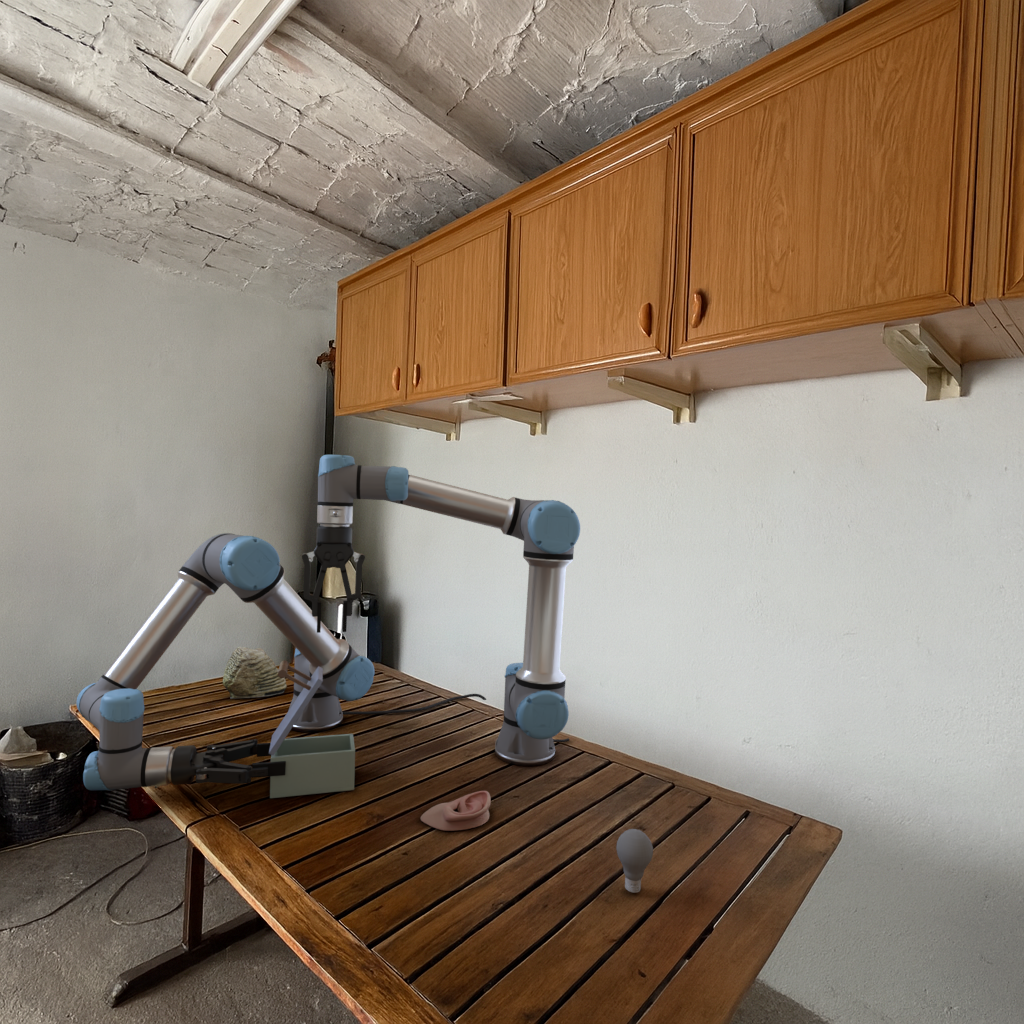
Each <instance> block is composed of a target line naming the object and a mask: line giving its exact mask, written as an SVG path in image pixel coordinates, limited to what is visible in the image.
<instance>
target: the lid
mask: <svg viewBox="0 0 1024 1024" xmlns="http://www.w3.org/2000/svg"><path fill="white" fill-rule="evenodd" d="M278 669H279V671H278V676H279V677H280V678H285V679H288V680H289V681H291V682H292V683H294V682H295V683H296V684H298V685H300V686H302V687H304V688H303V690H302V691H301V693H300V694H299V696H298V698H297V699H296V701H295V702H294V704H293V705H292V707H291V708H290V710H289V709H288V710H289V711H287V713H286V714H285V716H284V717H283V719H282V720H281V721H280V723H279V725H278V726H277V727H276V729H275V730H274V732H273V734H272V735H271V740H270V743H271V744H270V749H269V754H270V755H272V756H274V754H275V753H276V751H277V750H278V748H279V747H280V745H281V744H282V742H283V741H284V739H287V738H286V737H287V736H288V735H289V733H290V731H292V729H291V728H292V727H293V725H294V724H295V722H296V721H297V719H298V718H299V716H300V715H301V713H302V712H303V710H304V709H305V707H306V706H307V704H308V703H309V701H310V700H311V698H312V697H313V695H314V694H315V692H316V691H317V689H318V688H319V686H320V685H321V683H322V682H323V668H321V667H319V666H318V667H317V669H316V670H315V672H314V673H313V675H312V676H311V677H309V676H307V675H306V674H304V673H302V672H300V671H298V670H297V669H295V667H293V666H291V665H290V664H289V661H287V660H282V661H280V663H279V668H278ZM288 671H290V672H292V673H296V674H298V675H299V676H301V677H303V678H305V679H307V680H308V682H307V684H305V683H303V682H302V681H300V680H298V679H296V678H294V676H292V675H291V674H289V673H288Z"/></svg>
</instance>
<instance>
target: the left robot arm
mask: <svg viewBox="0 0 1024 1024" xmlns="http://www.w3.org/2000/svg"><path fill="white" fill-rule="evenodd" d="M285 574H286V570H285V568H284V567H283V565H282V564H281V557H280V555H279V553H278V551H277V549H276V548H275V547H274V546H273V545H272V544H271V543H270V542H268V541H266V540H265V539H263V538H260V537H258V536H254V535H242V534H235V533H231V532H230V533H229V532H224V533H218V534H216V535H212V536H211V537H209V538H207V539H206V540H205V541H203V542H202V543H201V544H200V545H199V546H198V547H197V549H195V550H194V551H193V553H192V554H191V555H190V556H189V557H188V559H187V560H186V561H185V562H184V563H183V565H182V566H181V567H180V568H179V570H178V571H177V576H178V578H177V580H176V581H175V582H174V584H173V585H172V586H171V587H170V588H169V590H168V591H167V593H166V594H165V595H164V596H163V597H162V599H161V600H160V601H159V602H158V604H157V605H156V606H155V608H153V610H152V612H151V613H150V614H149V615H148V617H147V618H146V619H145V621H144V622H143V623H142V624H141V626H140V627H139V628H138V629H137V631H136V632H135V633H134V634H133V636H132V637H131V638H130V640H129V641H128V642H127V643H126V644H125V646H124V647H123V648H122V650H121V651H120V652H119V653H118V655H117V656H116V657H115V659H114V660H113V661H112V662H111V664H110V665H109V667H107V669H106V670H105V671H104V673H102V675H101V677H100V678H99V679H98V680H97V681H96V682H93V683H90V684H88V685H86V686H85V687H84V688H83V689H82V690H80V692H79V693H78V695H77V698H76V709H77V710H78V712H79V713H80V715H81V717H82V718H84V720H86V721H87V722H89V723H90V724H91V725H92V726H93V727H95V728H96V729H97V730H98V731H99V732H98V733H99V741H98V743H99V745H98V750H96V751H92V752H91V753H89V755H88V756H87V758H86V760H85V763H84V770H83V773H82V781H83V785H84V787H85V788H86V790H88V791H108V792H109V791H110V792H111V791H112V792H113V791H115V790H127V789H137V788H149V787H150V788H151V787H154V788H155V789H159V788H160V787H162V786H169V785H170V784H172V785H173V786H179V785H181V786H182V785H191V784H192V783H193V782H194V779H195V783H196V784H205V783H211V784H212V783H215V784H235V785H236V784H239V785H244V784H250V783H251V782H252V779H254V778H267V777H269V778H270V776H282V775H285V769H286V761H279V762H271V761H264V762H252V765H248V764H243V763H236V761H238V760H242V759H245V758H249V757H253V756H256V757H257V758H261V757H271V755H270V754H269V749H270V744H271V742H262V743H261V742H260V743H259V742H258V739H257V738H254V739H249V740H243V741H235V742H230V743H229V742H228V743H224V744H223V743H222V744H211V745H207V746H206V751H201V752H198V751H197V746H195V745H193V744H192V745H191V744H189V745H178V746H177V747H173V746H171V745H170V746H157V747H143V734H144V733H143V732H144V717H145V716H144V715H145V713H144V712H145V709H146V708H145V707H146V706H145V699H144V698H145V697H144V693H143V692H142V690H140V689H138V688H139V687H140V685H141V684H142V683H143V681H144V680H145V679H146V678H147V676H148V675H149V673H150V672H151V671H152V670H153V668H154V667H155V665H156V664H157V663H158V662H159V660H160V659H161V658H162V656H163V655H164V653H165V652H166V651H167V650H168V648H169V647H170V646H171V644H172V643H173V642H174V641H175V639H176V638H177V637H178V635H179V634H180V633H181V631H182V630H183V629H184V627H185V626H186V625H187V623H188V622H189V621H190V619H191V618H192V617H193V615H195V613H196V612H197V610H198V609H199V608H200V606H201V605H202V603H204V601H205V600H206V599H207V597H209V596H213V595H215V594H216V593H217V591H218V590H219V589H220V588H221V586H223V585H224V584H225V585H226V586H227V587H228V588H229V589H230V590H231V591H232V592H233V593H234V594H235V595H236V596H237V597H238V598H239V599H240V600H241V601H242V602H243V603H245V604H246V603H247V604H251V603H252V604H254V605H255V606H256V607H257V608H258V609H259V610H260V611H261V612H262V613H263V614H264V616H265V617H266V618H267V619H269V621H270V622H271V623H272V624H273V625H274V626H275V627H276V628H277V629H278V631H280V633H282V634H283V636H284V637H285V638H286V639H287V640H288V641H289V642H290V644H292V645H293V646H294V647H295V650H294V655H293V657H294V668H295V669H297V670H298V671H300V672H302V673H304V674H306V675H307V676H309V677H311V676H312V675H313V673H314V672H315V670H316V669H317V667H318V666H319V667H321V668H323V682H322V683H321V685H320V686H319V688H318V689H317V691H316V692H315V694H314V695H313V697H312V698H311V700H310V701H309V703H308V704H307V706H306V707H305V709H304V710H303V712H302V713H301V715H300V716H299V718H298V719H297V721H296V722H295V724H294V725H293V727H292V728H291V731H294V732H295V731H296V732H301V733H316V732H325V731H329V730H332V729H335V728H337V727H339V726H340V725H342V723H343V722H344V716H348V715H349V716H351V715H352V716H353V715H354V716H355V715H359V716H360V715H362V716H363V715H364V716H365V715H367V716H371V715H390V714H403V713H404V714H405V713H414V712H415V713H416V712H421V711H425V710H429V709H432V708H435V707H438V706H440V705H444V704H448V703H449V702H452V701H456V700H462V699H467V698H472V697H473V698H474V697H476V698H480V699H481V700H483V701H486V700H487V698H486V697H485V696H484V695H482V694H479V693H469V694H468V693H467V694H463V695H457V696H453V697H450V698H449V697H448V698H446V699H444V700H441V701H437V702H435V703H433V704H431V705H427V706H423V707H417V708H408V709H407V708H406V709H393V710H391V709H390V710H373V711H372V710H371V711H357V710H356V711H355V710H353V711H343V709H342V706H341V702H340V700H341V701H347V702H353V701H354V702H355V701H358V700H360V699H361V698H362V697H364V696H365V695H366V694H367V693H368V692H369V690H370V689H371V688H372V685H373V683H374V679H375V678H374V676H375V674H376V672H375V666H374V664H373V662H372V660H370V659H369V658H368V657H366V656H365V655H360V654H359V653H358V652H357V651H356V650H355V649H354V648H353V647H352V645H351V644H350V643H349V642H348V641H347V640H346V639H343V638H337V637H336V636H335V635H334V634H333V633H332V632H331V631H330V630H329V628H327V626H326V625H325V624H324V623H323V622H322V621H321V629H320V633H317V617H313V616H312V608H311V607H309V606H308V605H307V603H306V602H305V601H304V600H303V599H302V598H301V597H300V595H299V594H298V592H297V591H295V590H294V589H293V587H292V586H291V585H290V583H288V581H286V579H285ZM293 673H294V672H293ZM293 677H294V678H296V679H298V680H300V681H302V682H303V683H305V684H307V682H308V680H307V679H305V678H303V677H301V676H299V675H298V674H296V673H294V674H293ZM303 688H304V687H302V686H300V685H298V684H296V683H295V682H293V695H292V696H293V697H292V699H291V702H290V704H289V708H288V711H289V710H290V708H291V707H292V705H293V704H294V702H295V701H296V699H297V698H298V696H299V694H300V693H301V691H302V690H303ZM288 711H287V712H288ZM234 761H235V762H234Z"/></svg>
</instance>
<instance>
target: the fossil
mask: <svg viewBox="0 0 1024 1024" xmlns="http://www.w3.org/2000/svg"><path fill="white" fill-rule="evenodd" d="M278 671H279V668H278V667H277V665H276V663H275V662H274V660H273V659H272V658H271V657H270V656H269V655H268V654H267V653H266V652H265V650H264V649H263V648H260V647H258V648H251V647H247V646H246V647H245V646H238V647H237V648H236V649H235V650H233V651H232V653H231V656H230V657H229V659H228V660H227V663H226V666H225V668H224V671H223V675H222V676H223V677H222V685H223V687H224V688H225V690H226V691H228V693H229V698H230V699H250V698H264V697H271V696H275V695H281V694H284V693H285V691H286V689H287V687H288V686H287V680H286V678H280V677H279V676H278Z"/></svg>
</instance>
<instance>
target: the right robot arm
mask: <svg viewBox="0 0 1024 1024" xmlns="http://www.w3.org/2000/svg"><path fill="white" fill-rule="evenodd" d="M354 500H371V501H373V500H374V501H385V502H390V503H393V504H397V505H403V506H407V507H411V508H415V509H419V510H423V511H427V512H430V513H435V514H439V515H442V516H447V517H451V518H454V519H459V520H463V521H466V522H470V523H475V524H478V525H482V526H487V527H491V528H494V529H499V530H500V531H501V533H502V534H503V535H504V536H505V535H506V536H510V537H513V538H516V539H517V540H521V541H523V552H522V558H523V559H524V560H525V561H526V562H527V564H528V578H527V592H526V595H527V596H526V610H525V627H524V641H523V643H524V644H523V658H522V662H514V663H509V664H507V666H506V668H505V674H504V678H505V679H504V698H503V699H504V701H503V721H502V724H501V728H500V731H499V734H498V736H497V738H496V739H495V743H494V744H495V745H494V754H495V756H496V758H498V759H500V761H502V762H504V763H507V764H511V765H514V766H520V767H521V766H523V767H534V766H541V765H547V764H548V763H551V762H552V761H553V760H554V759H555V757H556V746H555V743H567V742H570V738H569V737H568V738H563V739H557V738H554V737H556V736H557V735H558V734H560V733H561V732H562V731H563V730H564V728H565V727H566V725H567V723H568V720H569V715H570V713H569V712H570V711H569V706H568V702H567V701H566V699H565V697H566V677H567V676H566V674H564V673H563V672H562V670H561V669H560V668H561V655H562V638H563V637H562V636H563V621H564V609H565V608H564V607H565V591H566V577H567V576H566V575H567V567H568V566H569V565H570V564H571V563H572V562H573V561H574V553H575V546H576V544H577V542H578V540H579V538H580V534H581V522H580V519H579V516H578V515H577V513H576V512H575V510H574V508H572V507H571V506H569V505H568V504H566V503H564V502H562V501H560V500H554V499H549V500H548V499H545V500H544V499H538V500H537V499H536V500H535V499H534V500H532V499H523V498H519V497H515V496H512V497H509V498H508V499H507V498H503V497H499V496H495V495H491V494H487V493H483V492H479V491H476V490H471V489H467V488H464V487H460V486H456V485H452V484H448V483H444V482H440V481H436V480H432V479H429V478H424V477H421V476H416V475H412V474H409V470H408V468H406V467H404V466H403V467H401V466H400V467H399V466H394V465H391V466H387V465H386V466H385V465H361V464H356V462H355V458H354V456H352V455H346V454H324V455H322V456H321V457H320V458H319V466H318V473H317V507H316V509H317V510H316V511H317V513H316V514H317V515H316V523H317V524H319V525H318V526H317V527H316V540H315V541H316V544H315V547H314V549H313V551H309V552H304V553H302V555H301V559H302V562H303V564H304V568H303V569H304V570H303V571H304V572H303V577H304V578H303V599H304V600H306V601H307V600H308V601H310V602H311V610H312V616H313V617H317V633H320V629H321V622H322V600H319V598H320V596H321V595H320V594H321V591H322V588H323V585H324V580H325V577H326V573H327V570H328V569H331V568H334V569H335V568H336V569H339V571H340V574H341V578H342V579H341V580H342V583H343V588H344V593H345V596H346V599H345V600H342V633H347V624H348V623H347V621H348V617H352V615H353V602H354V601H356V600H359V599H361V598H362V586H363V585H362V584H363V583H362V582H363V581H362V579H363V578H362V577H363V564H364V561H365V559H366V555H365V554H364V553H359V552H356V551H355V550H354V548H353V528H352V526H351V525H352V524H353V518H354ZM314 557H315V558H316V559H317V560H318V561H319V563H320V564H321V565H320V570H319V574H318V577H317V579H316V583H315V587H314V591H313V594H312V593H311V563H313V561H314ZM351 558H353V561H354V563H355V583H354V593H352V590H351V585H350V579H349V576H348V571H347V567H346V564H347V563H348V562H349V561H350V560H351Z"/></svg>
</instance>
